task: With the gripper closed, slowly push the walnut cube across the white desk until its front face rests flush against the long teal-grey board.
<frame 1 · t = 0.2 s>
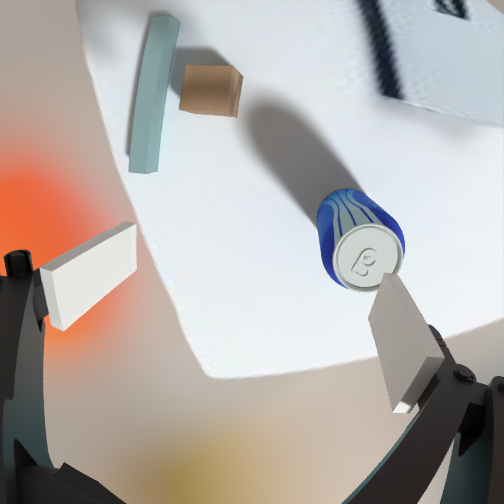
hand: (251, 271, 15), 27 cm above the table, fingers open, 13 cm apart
block: (218, 95, 37), on the table
beer can: (346, 217, 40), on the table
board: (157, 93, 38), on the table
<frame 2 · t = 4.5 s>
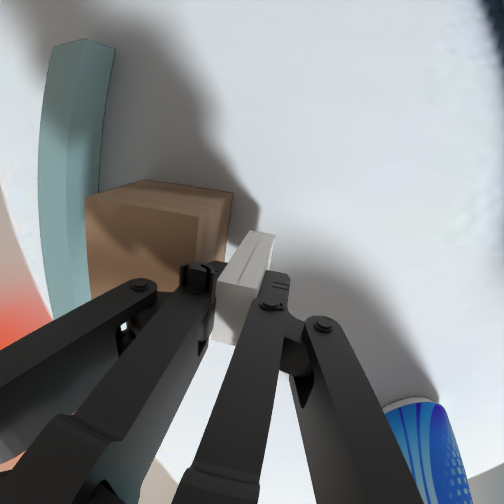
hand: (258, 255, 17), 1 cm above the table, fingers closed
block: (181, 231, 19), on the table, touching gripper
beer can: (401, 418, 22), on the table
board: (83, 210, 20), on the table
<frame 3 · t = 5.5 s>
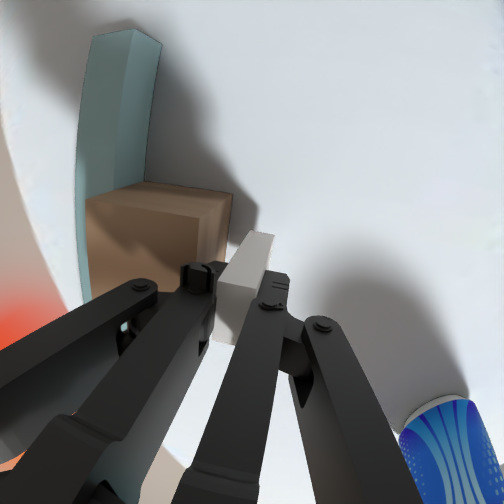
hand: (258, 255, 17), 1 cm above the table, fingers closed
block: (182, 232, 19), on the table, touching board, gripper
beer can: (435, 416, 22), on the table
board: (123, 218, 19), on the table
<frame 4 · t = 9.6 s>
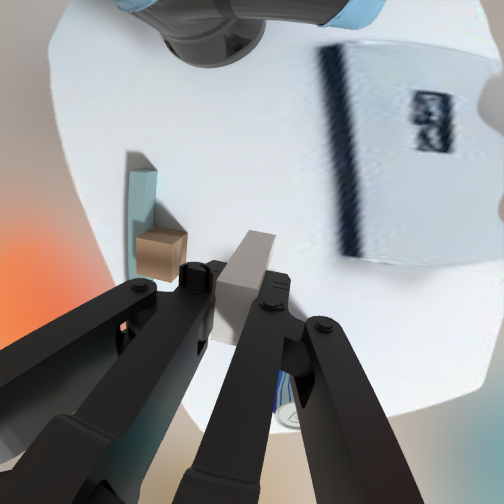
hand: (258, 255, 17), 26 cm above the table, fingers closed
block: (169, 246, 48), on the table
beer can: (303, 346, 50), on the table
board: (145, 240, 48), on the table
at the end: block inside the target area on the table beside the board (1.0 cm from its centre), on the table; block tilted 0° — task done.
